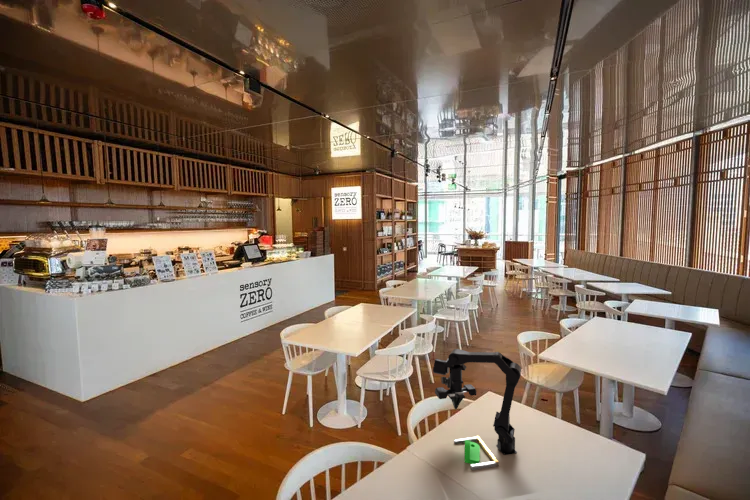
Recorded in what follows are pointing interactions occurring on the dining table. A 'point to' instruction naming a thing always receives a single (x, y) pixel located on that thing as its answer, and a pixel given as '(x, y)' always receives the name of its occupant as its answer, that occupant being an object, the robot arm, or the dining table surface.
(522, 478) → the dining table surface
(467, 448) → the mechanical part
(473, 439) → the u-shaped frame
